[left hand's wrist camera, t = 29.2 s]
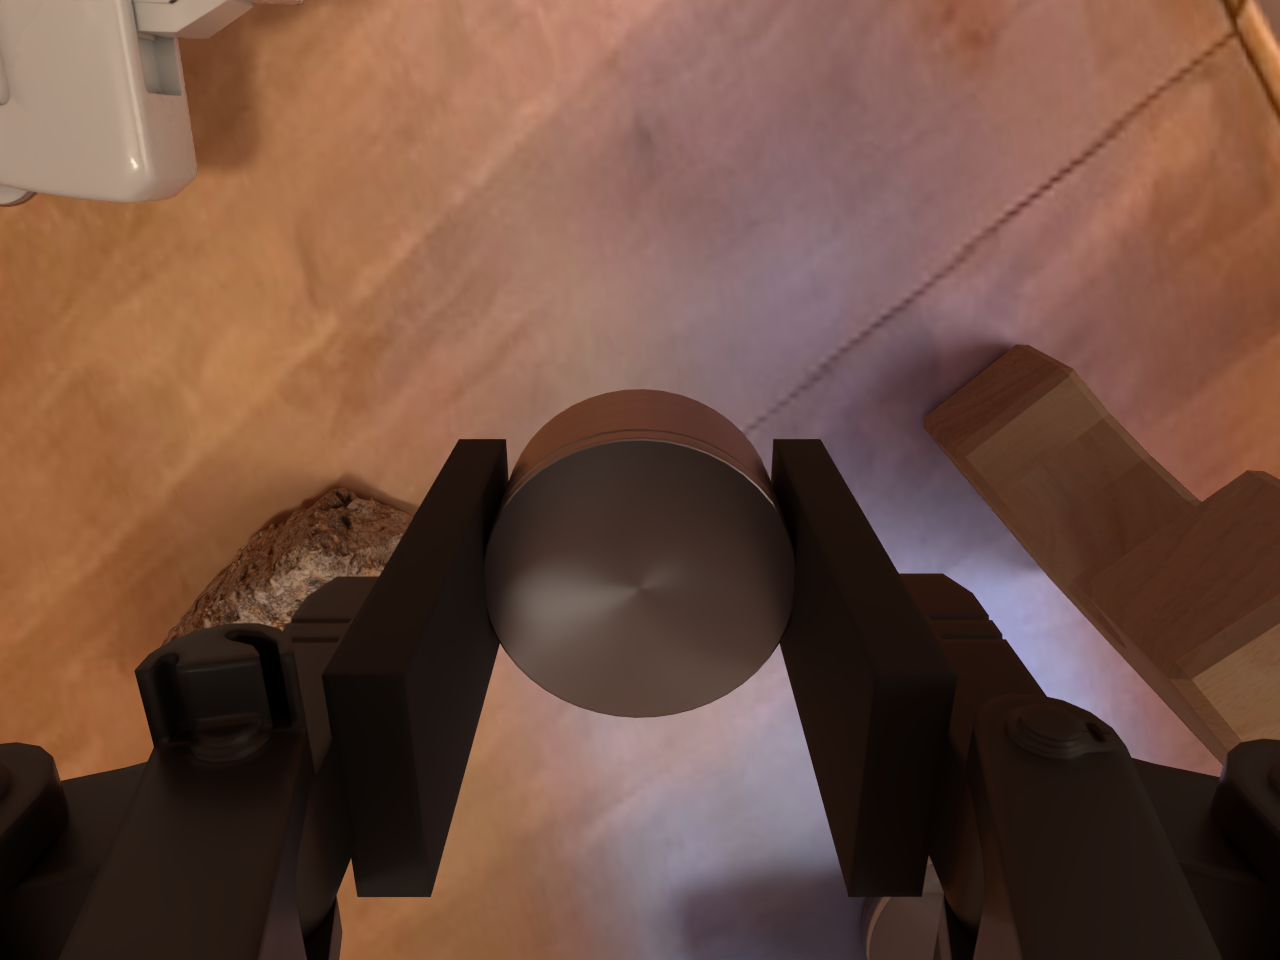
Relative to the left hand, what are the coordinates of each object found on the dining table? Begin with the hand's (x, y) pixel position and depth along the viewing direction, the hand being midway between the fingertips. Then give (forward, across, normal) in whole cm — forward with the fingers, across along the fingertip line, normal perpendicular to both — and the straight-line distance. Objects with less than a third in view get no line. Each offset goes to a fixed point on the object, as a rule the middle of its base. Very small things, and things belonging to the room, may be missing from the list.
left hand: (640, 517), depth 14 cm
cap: (-2, 0, 0) cm, 2 cm away
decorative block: (+24, -18, +8) cm, 31 cm away
